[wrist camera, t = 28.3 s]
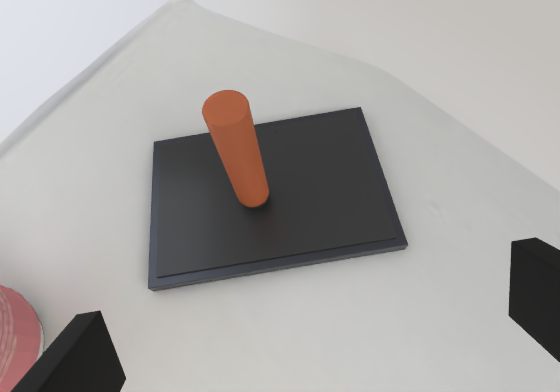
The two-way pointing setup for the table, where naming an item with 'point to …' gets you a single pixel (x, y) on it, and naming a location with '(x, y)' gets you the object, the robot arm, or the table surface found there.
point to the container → (17, 338)
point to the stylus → (237, 145)
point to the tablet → (270, 203)
